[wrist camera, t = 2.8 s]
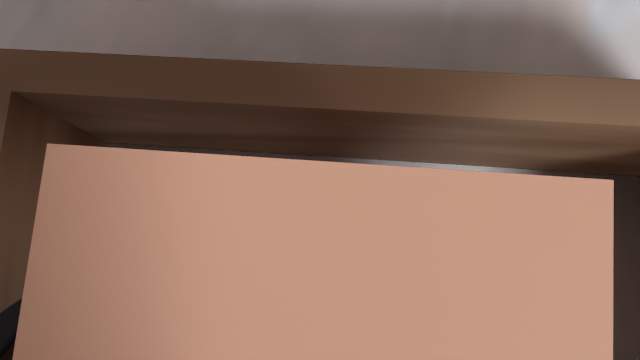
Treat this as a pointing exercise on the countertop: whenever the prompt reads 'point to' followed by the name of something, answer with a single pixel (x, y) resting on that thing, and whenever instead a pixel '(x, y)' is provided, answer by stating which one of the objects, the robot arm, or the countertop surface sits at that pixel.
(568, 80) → the brown u-shaped piece
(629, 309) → the countertop surface
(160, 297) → the block
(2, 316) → the robot arm
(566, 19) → the countertop surface
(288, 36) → the countertop surface
